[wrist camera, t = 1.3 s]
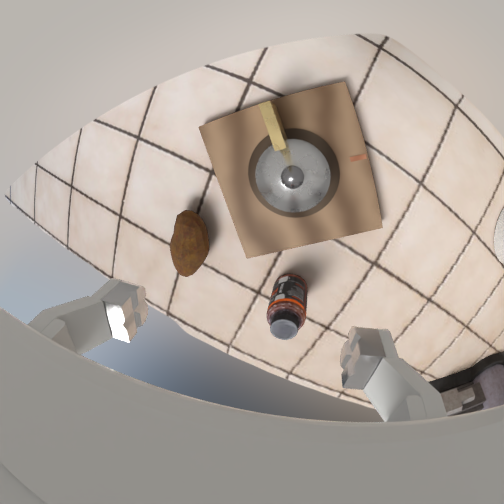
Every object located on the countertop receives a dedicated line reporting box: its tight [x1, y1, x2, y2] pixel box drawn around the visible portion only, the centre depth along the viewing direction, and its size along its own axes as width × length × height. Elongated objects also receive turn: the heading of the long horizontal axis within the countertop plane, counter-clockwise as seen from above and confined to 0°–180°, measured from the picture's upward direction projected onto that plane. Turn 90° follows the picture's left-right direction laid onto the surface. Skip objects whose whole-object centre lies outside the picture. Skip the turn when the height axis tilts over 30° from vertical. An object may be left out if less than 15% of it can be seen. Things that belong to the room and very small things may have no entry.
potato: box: [170, 210, 209, 277], centre depth 44 cm, size 7×12×7 cm, turn 177°
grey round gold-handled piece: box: [255, 101, 331, 212], centre depth 33 cm, size 15×10×6 cm, turn 19°
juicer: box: [428, 352, 504, 416], centre depth 38 cm, size 30×16×24 cm, turn 108°
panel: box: [199, 82, 383, 258], centre depth 38 cm, size 22×22×2 cm
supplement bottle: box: [267, 274, 307, 340], centre depth 42 cm, size 6×6×11 cm
